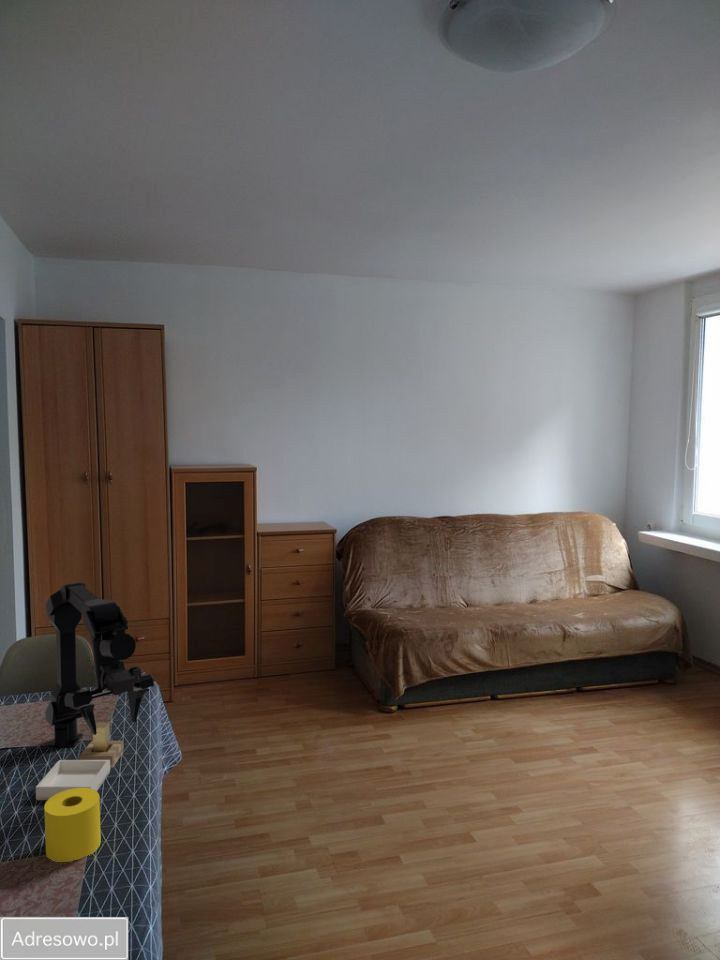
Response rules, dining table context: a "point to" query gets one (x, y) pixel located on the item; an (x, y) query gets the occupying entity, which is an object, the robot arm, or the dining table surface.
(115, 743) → the block
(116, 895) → the dining table surface
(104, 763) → the tray
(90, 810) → the yellow toilet paper roll
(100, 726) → the pin
